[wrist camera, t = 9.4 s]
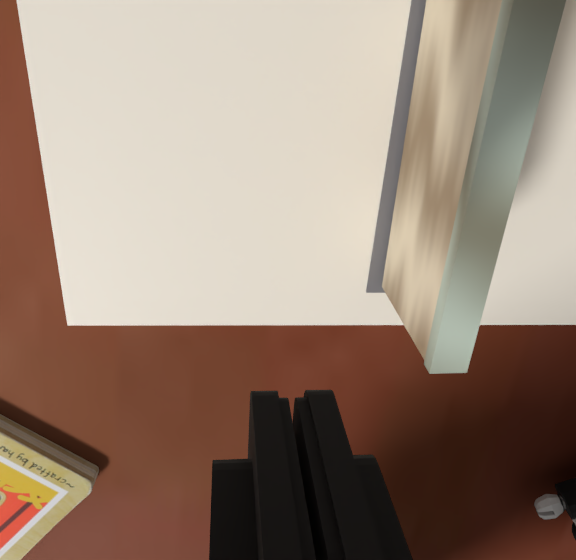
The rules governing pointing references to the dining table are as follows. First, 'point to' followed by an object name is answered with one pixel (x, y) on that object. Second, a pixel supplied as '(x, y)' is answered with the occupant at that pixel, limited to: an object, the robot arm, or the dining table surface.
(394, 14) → the card
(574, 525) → the robot toy
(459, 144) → the fence panel
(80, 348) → the dining table surface
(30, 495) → the knob puzzle
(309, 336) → the dining table surface
